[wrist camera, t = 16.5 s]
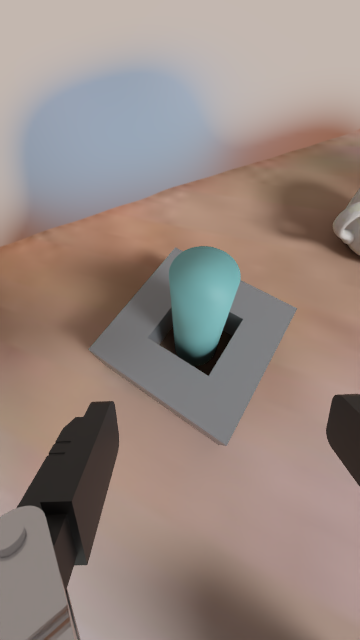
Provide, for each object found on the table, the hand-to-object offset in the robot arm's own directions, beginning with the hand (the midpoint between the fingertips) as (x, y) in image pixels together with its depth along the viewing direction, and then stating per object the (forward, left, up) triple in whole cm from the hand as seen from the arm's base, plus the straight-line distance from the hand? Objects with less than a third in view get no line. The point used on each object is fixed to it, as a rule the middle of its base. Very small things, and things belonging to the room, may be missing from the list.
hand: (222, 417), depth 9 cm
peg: (-7, -5, -16) cm, 18 cm away
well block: (-7, -5, -16) cm, 18 cm away
